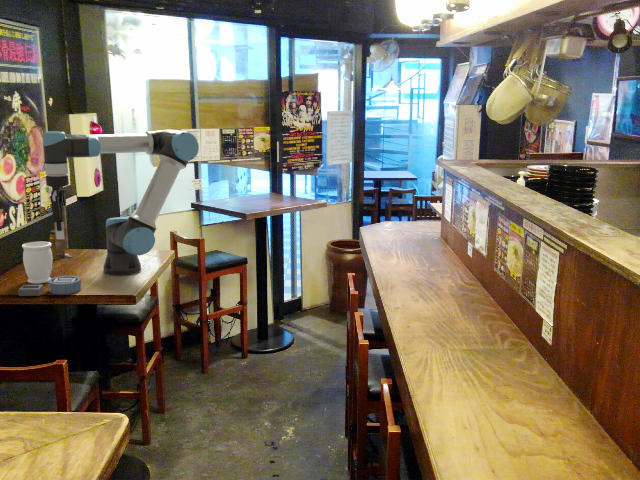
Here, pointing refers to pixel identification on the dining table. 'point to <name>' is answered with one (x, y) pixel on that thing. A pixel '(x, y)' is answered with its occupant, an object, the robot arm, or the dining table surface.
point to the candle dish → (64, 285)
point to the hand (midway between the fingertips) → (61, 238)
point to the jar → (37, 261)
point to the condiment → (56, 252)
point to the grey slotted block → (31, 290)
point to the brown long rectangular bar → (64, 242)
